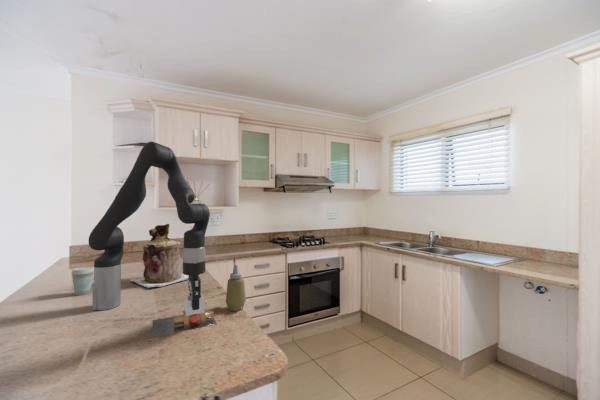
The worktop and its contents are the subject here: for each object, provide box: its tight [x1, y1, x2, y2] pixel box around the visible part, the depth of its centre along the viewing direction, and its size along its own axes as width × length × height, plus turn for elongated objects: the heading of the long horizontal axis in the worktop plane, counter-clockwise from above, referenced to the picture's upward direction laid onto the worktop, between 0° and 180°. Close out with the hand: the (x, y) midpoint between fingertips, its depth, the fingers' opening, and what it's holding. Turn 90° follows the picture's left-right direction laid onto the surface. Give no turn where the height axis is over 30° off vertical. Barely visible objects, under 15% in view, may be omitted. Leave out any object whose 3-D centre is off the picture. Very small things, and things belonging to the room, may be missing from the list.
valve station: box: [151, 298, 218, 338], centre depth 97 cm, size 20×14×10 cm
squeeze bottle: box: [225, 264, 247, 312], centre depth 111 cm, size 8×8×18 cm
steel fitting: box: [183, 293, 205, 316], centre depth 96 cm, size 6×6×5 cm
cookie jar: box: [129, 223, 189, 289], centre depth 152 cm, size 25×25×32 cm
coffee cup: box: [71, 266, 94, 296], centre depth 130 cm, size 9×9×12 cm
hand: (194, 305), depth 96 cm, fingers open, 8 cm apart
